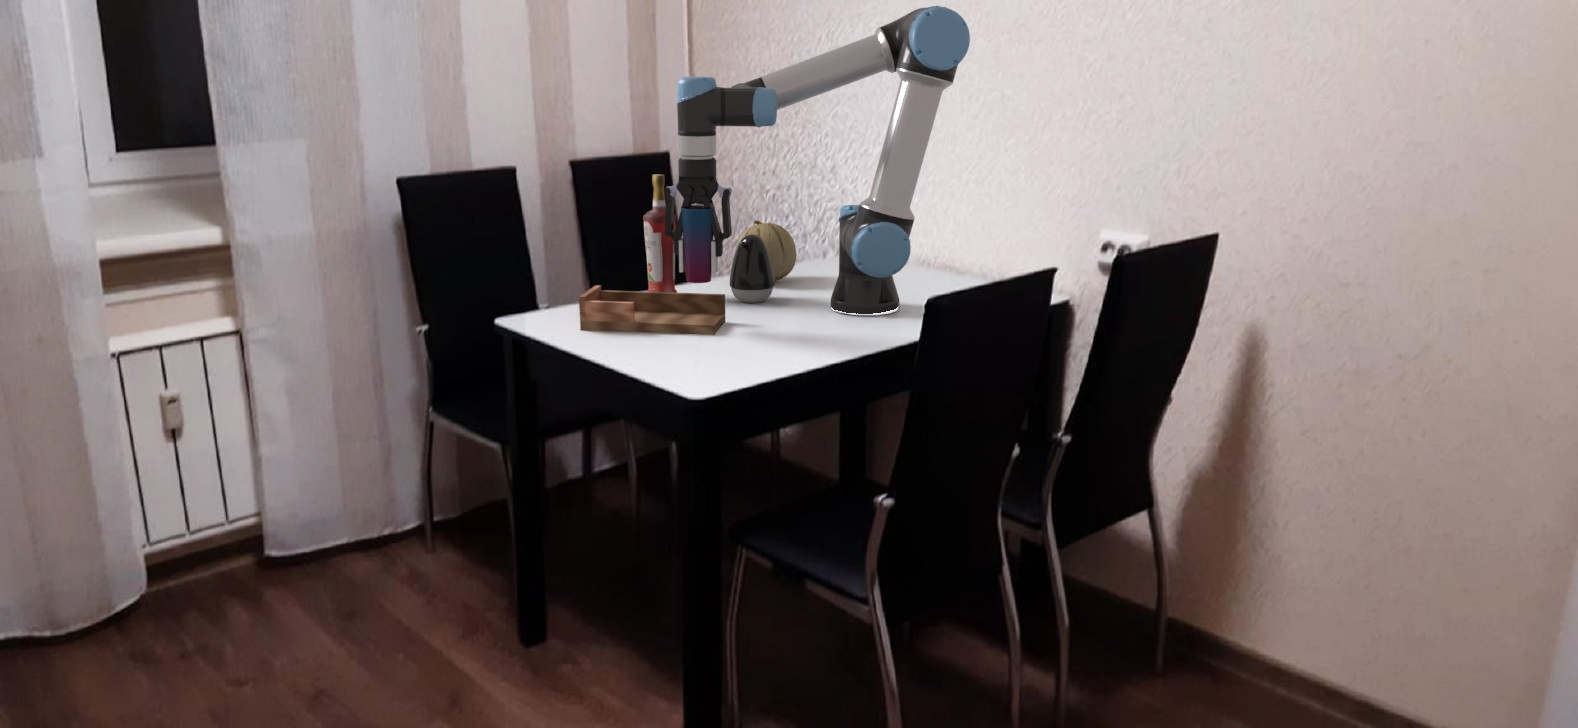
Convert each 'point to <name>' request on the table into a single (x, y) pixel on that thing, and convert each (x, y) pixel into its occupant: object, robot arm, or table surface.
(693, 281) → the cup
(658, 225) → the liquor
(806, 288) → the table surface
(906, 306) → the table surface
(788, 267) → the cantaloupe
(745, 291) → the black egg-shaped device
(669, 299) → the board
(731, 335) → the table surface
